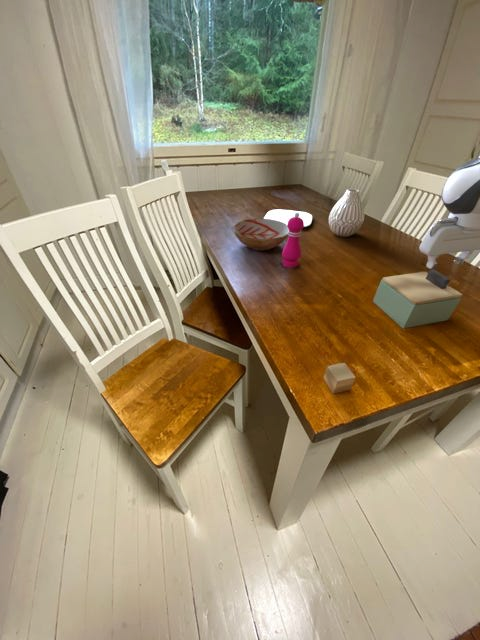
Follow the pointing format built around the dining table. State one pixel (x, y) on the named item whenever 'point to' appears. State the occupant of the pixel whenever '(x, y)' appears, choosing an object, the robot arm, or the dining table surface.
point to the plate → (288, 216)
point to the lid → (423, 286)
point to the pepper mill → (293, 242)
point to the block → (339, 378)
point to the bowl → (261, 233)
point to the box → (412, 307)
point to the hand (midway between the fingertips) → (443, 265)
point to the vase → (347, 214)
